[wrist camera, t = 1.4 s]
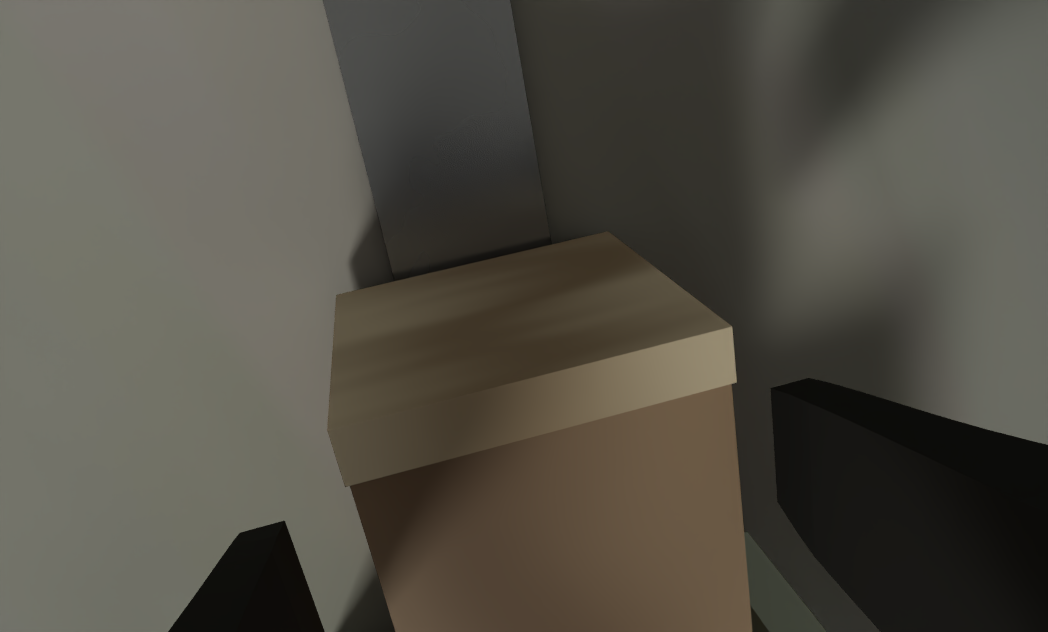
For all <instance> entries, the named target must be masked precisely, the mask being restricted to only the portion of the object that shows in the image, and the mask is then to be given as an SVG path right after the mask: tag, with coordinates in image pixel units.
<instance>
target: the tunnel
mask: <svg viewBox="0 0 1048 632" xmlns="http://www.w3.org/2000/svg"><path fill="white" fill-rule="evenodd" d="M744 537H745V549H746V561H747V572H748V584H749V596H750V608H751V620H752V632H827V631H826V630H825V629H824V628H823V626H822V625H821V624H820V623H819V621H818V620H817V619H816V618H815V616H814V615H813V614H812V613H811V611H810V610H809V609H808V608H807V606H806V605H805V604H804V603H803V601H802V600H801V599H800V597H799V596H798V595H797V594H796V592H795V591H794V590H793V589H792V587H791V586H790V585H789V584H788V582H787V581H786V580H785V579H784V577H783V576H782V575H781V574H780V572H779V571H778V570H777V569H776V567H775V566H774V565H773V563H772V562H771V561H770V560H769V558H768V557H767V556H766V555H765V553H764V552H763V551H762V550H761V548H760V547H759V546H758V545H757V543H756V542H755V541H754V540H753V538H752V537H751V536H750V535H749V533H748V532H744Z"/></svg>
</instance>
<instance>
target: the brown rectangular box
mask: <svg viewBox="0 0 1048 632" xmlns="http://www.w3.org/2000/svg"><path fill="white" fill-rule="evenodd" d="M733 383H737V379H736V367H735V354H734V342H733V330H732V326H731V325H730V324H728V323H727V322H726V321H724V320H723V319H722V318H721V317H719V316H718V315H717V314H715V313H714V312H713V311H711V310H710V309H709V308H708V307H706V306H705V305H704V304H702V303H701V302H700V301H698V300H697V299H696V298H694V297H693V296H692V295H691V294H689V293H688V292H687V291H685V290H684V289H683V288H681V287H680V286H679V285H678V284H676V283H675V282H674V281H672V280H671V279H670V278H668V277H667V276H666V275H664V274H663V273H662V272H661V271H659V270H658V269H657V268H655V267H654V266H653V265H651V264H650V263H649V262H648V261H646V260H645V259H644V258H642V257H641V256H640V255H638V254H637V253H636V252H634V251H633V250H632V249H631V248H629V247H628V246H627V245H625V244H624V243H623V242H621V241H620V240H619V239H618V238H616V237H615V236H614V235H612V234H611V233H610V232H608V231H607V232H603V233H599V234H594V235H590V236H586V237H582V238H577V239H573V240H569V241H564V242H560V243H556V244H552V245H547V246H543V247H539V248H535V249H530V250H526V251H522V252H518V253H513V254H509V255H505V256H500V257H496V258H492V259H488V260H483V261H479V262H475V263H471V264H466V265H462V266H458V267H454V268H449V269H445V270H441V271H436V272H432V273H428V274H424V275H419V276H415V277H411V278H407V279H402V280H398V281H394V282H390V283H385V284H381V285H377V286H372V287H368V288H364V289H360V290H355V291H351V292H347V293H343V294H338V295H336V307H335V322H334V337H333V352H332V367H331V382H330V397H329V413H328V428H327V431H328V434H329V437H330V440H331V444H332V447H333V450H334V453H335V456H336V460H337V463H338V466H339V469H340V472H341V475H342V479H343V482H344V485H345V487H347V486H350V488H351V491H352V494H353V497H354V500H355V504H356V507H357V510H358V513H359V516H360V520H361V523H362V526H363V529H364V532H365V536H366V539H367V542H368V545H369V548H370V552H371V555H372V558H373V561H374V564H375V568H376V571H377V574H378V577H379V580H380V584H381V587H382V590H383V593H384V596H385V600H386V603H387V606H388V609H389V612H390V616H391V619H392V622H393V625H394V628H395V632H752V620H751V608H750V596H749V584H748V572H747V561H746V549H745V537H744V525H743V513H742V501H741V489H740V477H739V466H738V454H737V442H736V430H735V418H734V406H733V394H732V384H733Z"/></svg>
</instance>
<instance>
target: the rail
mask: <svg viewBox="0 0 1048 632" xmlns="http://www.w3.org/2000/svg"><path fill="white" fill-rule="evenodd" d="M323 3H324V7H325V10H326V14H327V18H328V22H329V26H330V30H331V34H332V38H333V42H334V46H335V50H336V54H337V57H338V61H339V65H340V69H341V73H342V77H343V81H344V85H345V89H346V93H347V97H348V100H349V104H350V108H351V112H352V116H353V120H354V124H355V128H356V132H357V136H358V140H359V144H360V147H361V151H362V155H363V159H364V163H365V167H366V171H367V175H368V179H369V183H370V187H371V190H372V194H373V198H374V202H375V206H376V210H377V214H378V218H379V222H380V226H381V230H382V234H383V237H384V241H385V245H386V249H387V253H388V257H389V261H390V265H391V269H392V273H393V277H394V280H395V281H398V280H402V279H407V278H411V277H415V276H419V275H424V274H428V273H432V272H436V271H441V270H445V269H449V268H454V267H458V266H462V265H466V264H471V263H475V262H479V261H483V260H488V259H492V258H496V257H500V256H505V255H509V254H513V253H518V252H522V251H526V250H530V249H535V248H539V247H543V246H547V245H552V244H551V238H550V232H549V226H548V220H547V214H546V208H545V202H544V197H543V191H542V185H541V179H540V173H539V167H538V161H537V155H536V150H535V144H534V138H533V132H532V126H531V120H530V114H529V109H528V103H527V97H526V91H525V85H524V79H523V73H522V67H521V62H520V56H519V50H518V44H517V38H516V32H515V26H514V20H513V15H512V9H511V3H510V0H323Z"/></svg>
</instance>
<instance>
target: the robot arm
mask: <svg viewBox="0 0 1048 632" xmlns="http://www.w3.org/2000/svg"><path fill="white" fill-rule="evenodd" d="M771 402H772V418H773V435H774V451H775V467H776V484H777V500H778V503H779V505H780V506H781V508H782V509H783V511H784V512H785V514H786V516H787V517H788V519H789V520H790V522H791V523H792V525H793V526H794V528H795V529H796V531H797V532H798V534H799V535H800V537H801V538H802V540H803V541H804V542H805V544H806V545H807V547H808V548H809V550H810V551H811V552H812V554H813V555H814V557H815V558H816V559H817V560H818V561H819V562H820V564H821V565H822V566H823V567H824V568H825V569H826V571H827V572H828V573H829V574H830V575H831V576H832V577H833V579H834V580H835V581H836V582H837V583H838V584H839V585H840V587H841V588H842V589H843V590H844V591H845V592H846V593H847V594H848V596H849V597H850V598H851V599H852V600H853V601H854V602H855V603H856V605H857V606H858V607H859V608H860V609H861V610H862V611H863V612H864V613H865V615H866V616H867V617H868V618H869V619H870V620H871V621H872V622H873V624H874V625H875V626H876V627H877V628H878V629H879V630H880V631H881V632H1048V445H1046V444H1042V443H1037V442H1033V441H1029V440H1026V439H1022V438H1018V437H1014V436H1010V435H1006V434H1002V433H998V432H994V431H990V430H986V429H983V428H979V427H976V426H972V425H969V424H965V423H961V422H958V421H955V420H951V419H948V418H944V417H941V416H938V415H934V414H931V413H928V412H924V411H921V410H918V409H915V408H911V407H908V406H905V405H902V404H898V403H895V402H892V401H889V400H885V399H882V398H879V397H876V396H873V395H869V394H866V393H863V392H860V391H856V390H853V389H849V388H846V387H843V386H839V385H835V384H832V383H828V382H824V381H820V380H815V379H810V378H807V379H803V380H800V381H796V382H792V383H789V384H785V385H781V386H778V387H774V388H771ZM168 632H324V629H323V626H322V623H321V620H320V618H319V615H318V612H317V609H316V607H315V604H314V601H313V598H312V595H311V593H310V590H309V587H308V584H307V581H306V579H305V576H304V573H303V570H302V568H301V565H300V562H299V559H298V556H297V554H296V551H295V548H294V545H293V542H292V540H291V537H290V534H289V531H288V529H287V526H286V523H285V521H282V522H278V523H274V524H271V525H267V526H263V527H259V528H256V529H252V530H248V531H245V532H241V533H239V535H238V536H237V537H236V538H235V540H234V541H233V542H232V544H231V545H230V546H229V548H228V549H227V551H226V552H225V553H224V555H223V556H222V558H221V559H220V560H219V562H218V563H217V565H216V566H215V568H214V569H213V570H212V572H211V573H210V575H209V576H208V578H207V579H206V580H205V582H204V583H203V585H202V586H201V587H200V589H199V590H198V592H197V593H196V595H195V596H194V597H193V599H192V600H191V601H190V603H189V604H188V605H187V607H186V608H185V610H184V611H183V612H182V614H181V615H180V616H179V618H178V619H177V621H176V622H175V623H174V625H173V626H172V627H171V629H170V630H169V631H168Z"/></svg>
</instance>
